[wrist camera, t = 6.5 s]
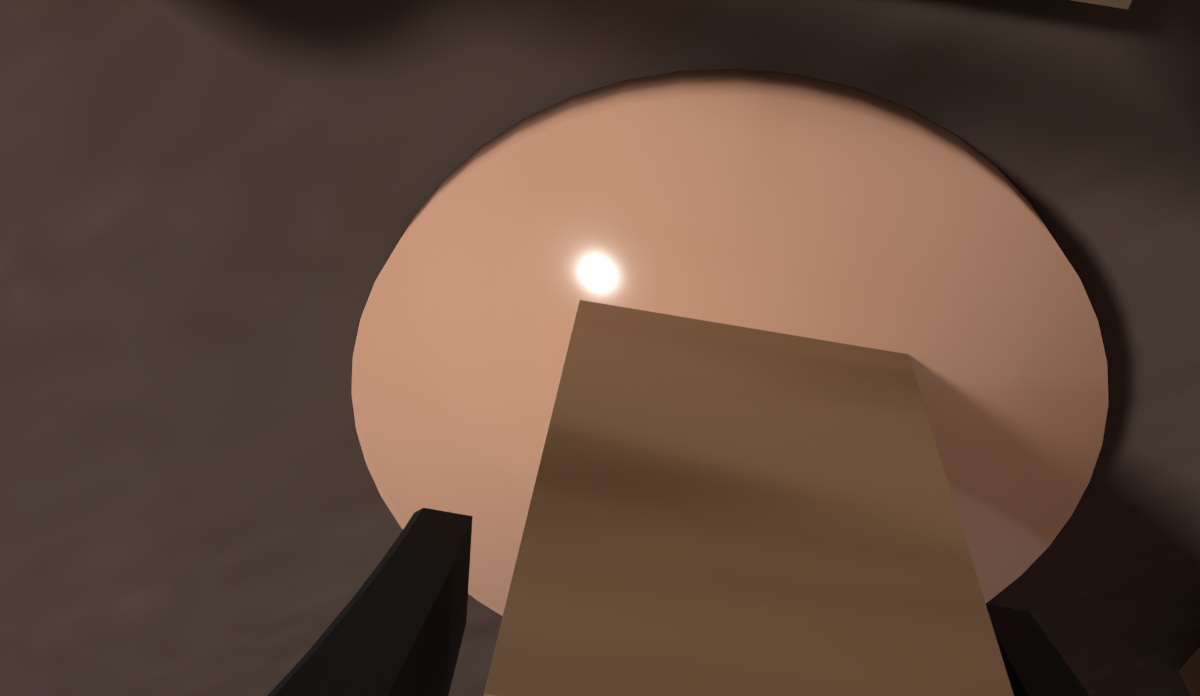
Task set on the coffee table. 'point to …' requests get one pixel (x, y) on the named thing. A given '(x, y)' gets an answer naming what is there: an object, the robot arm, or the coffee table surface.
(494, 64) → the coffee table surface
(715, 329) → the block
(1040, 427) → the peach flat disc
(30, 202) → the coffee table surface
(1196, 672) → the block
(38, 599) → the coffee table surface
